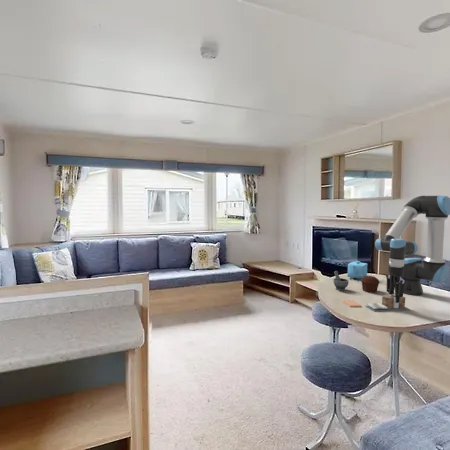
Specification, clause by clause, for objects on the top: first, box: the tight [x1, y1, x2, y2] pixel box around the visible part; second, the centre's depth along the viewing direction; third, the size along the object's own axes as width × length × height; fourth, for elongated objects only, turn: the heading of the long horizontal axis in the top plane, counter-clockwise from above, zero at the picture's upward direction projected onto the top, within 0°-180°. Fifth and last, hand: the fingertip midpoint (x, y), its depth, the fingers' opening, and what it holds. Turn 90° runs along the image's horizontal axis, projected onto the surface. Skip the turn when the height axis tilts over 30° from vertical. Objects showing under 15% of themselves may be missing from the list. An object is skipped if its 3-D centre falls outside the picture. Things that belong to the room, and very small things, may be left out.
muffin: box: [360, 275, 381, 293], centre depth 211 cm, size 12×11×10 cm
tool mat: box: [365, 305, 411, 312], centre depth 177 cm, size 22×8×1 cm, turn 98°
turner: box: [366, 295, 406, 309], centre depth 177 cm, size 20×7×6 cm, turn 98°
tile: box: [342, 299, 362, 308], centre depth 183 cm, size 1×9×7 cm
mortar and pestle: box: [332, 270, 349, 292], centre depth 213 cm, size 11×9×12 cm
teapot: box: [347, 260, 368, 281], centre depth 244 cm, size 22×11×14 cm, turn 142°
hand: (393, 306), depth 177 cm, fingers closed on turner, 3 cm apart
